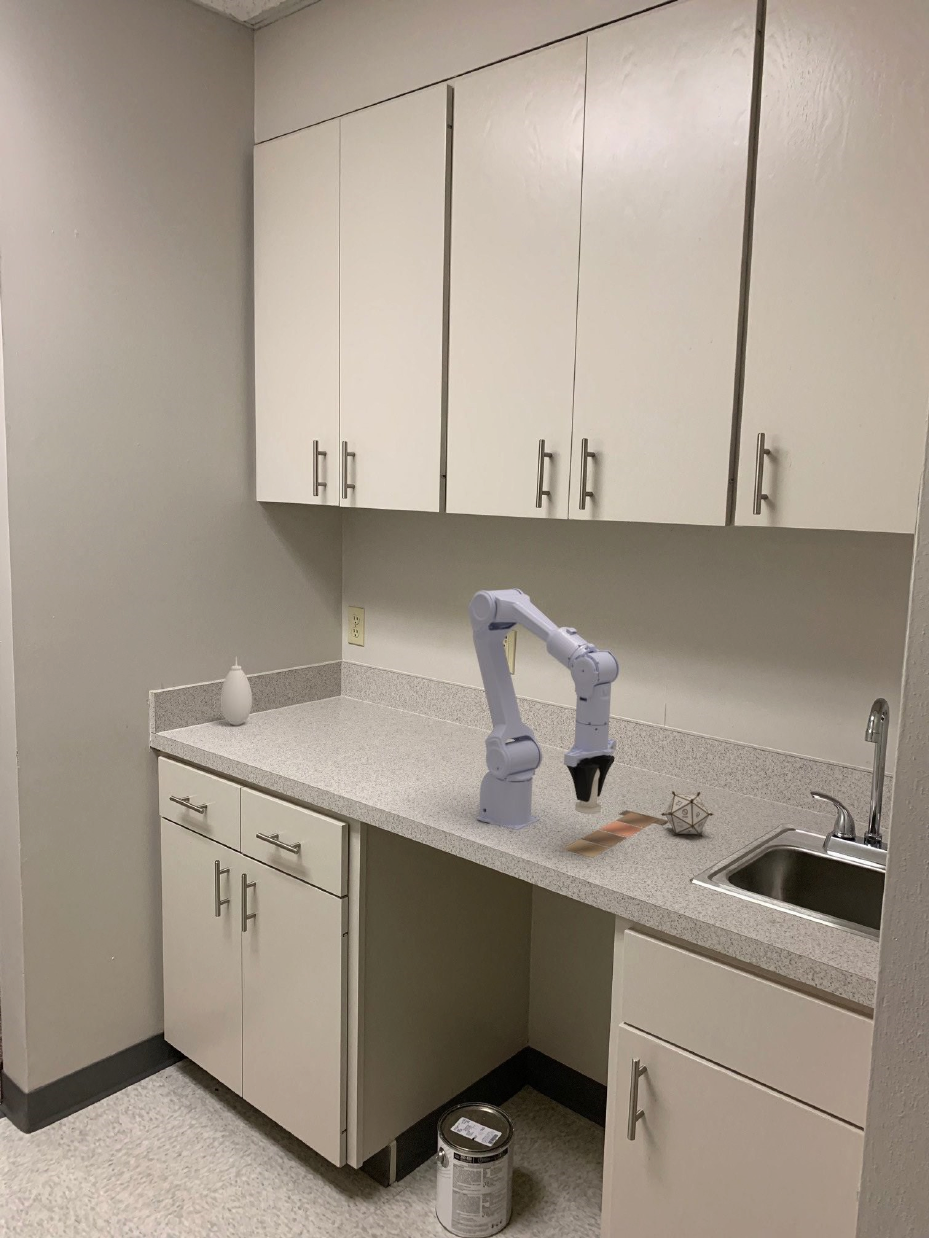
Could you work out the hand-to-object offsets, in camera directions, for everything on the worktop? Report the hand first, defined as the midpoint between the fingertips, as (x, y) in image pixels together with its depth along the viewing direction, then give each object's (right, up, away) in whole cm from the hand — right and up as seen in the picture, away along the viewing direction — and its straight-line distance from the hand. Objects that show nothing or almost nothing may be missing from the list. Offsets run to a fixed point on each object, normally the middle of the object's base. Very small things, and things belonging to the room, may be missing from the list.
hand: (588, 797), depth 164 cm
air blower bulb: (-81, +3, +81) cm, 114 cm away
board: (+6, -9, +9) cm, 14 cm away
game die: (+19, -9, +10) cm, 24 cm away
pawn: (0, -2, 0) cm, 2 cm away
